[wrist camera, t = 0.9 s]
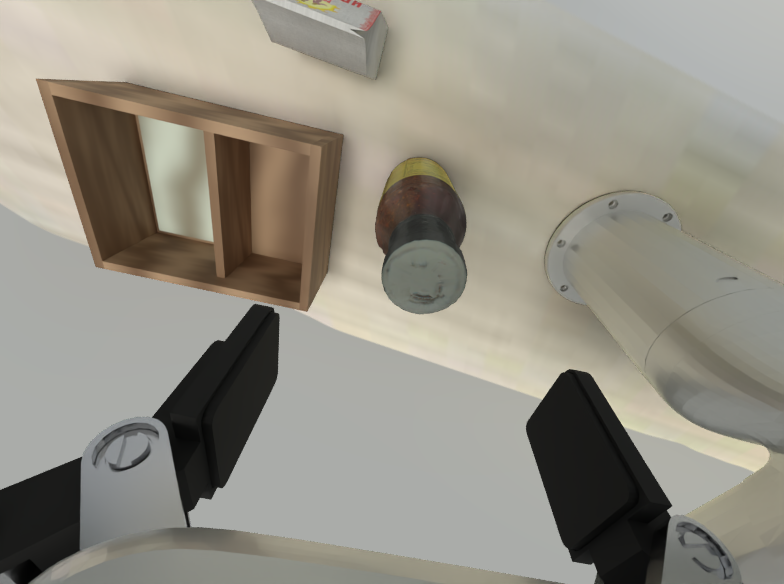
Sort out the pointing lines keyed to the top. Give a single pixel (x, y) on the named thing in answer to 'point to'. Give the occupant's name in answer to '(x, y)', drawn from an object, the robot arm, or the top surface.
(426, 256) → the sauce bottle
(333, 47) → the printed food box
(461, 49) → the top surface
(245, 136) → the crate
